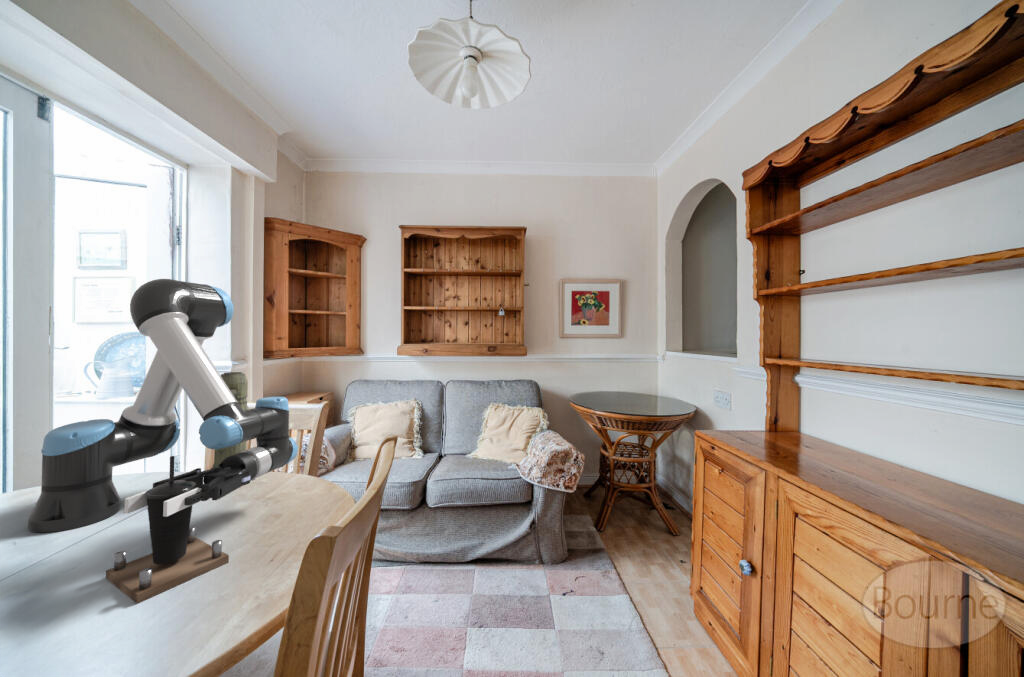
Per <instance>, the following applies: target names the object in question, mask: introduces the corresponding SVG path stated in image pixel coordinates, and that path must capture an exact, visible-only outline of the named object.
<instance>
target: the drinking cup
mask: <svg viewBox="0 0 1024 677" xmlns="http://www.w3.org/2000/svg"><path fill="white" fill-rule="evenodd" d="M175 456H176V455H175ZM175 456H174V455H171V456H169V478H170V479H169V482H166V483H163V484H160V485H158V486H156V487H154V488H153V487H152V488H150V489H148V491H147V490H146V491H147V492H146V493H145V498H147V506H146V507H147V516H148V524H149V526H148V527H149V534H150V543H151V545H150V546H151V553H152V555H153V563H154V564H166V563H170V562H173V561H176V560H178V559H180V558H182V557H183V556H184V555H185V554H186V549H187V542H188V534H189V527H191V526H190V525H191V518H192V512H193V511H192V510H193V505H191V506H189V507H187V508H185V509H182V510H180V511H178V512H176V513H174V514H171V515H169V516H167V517H166V516H163V506H164V501H166V500H169V499H171V498H174V497H176V496H179V495H181V494H183V493H186V492H188V491H191V490H193V489H195V488H196V487H197V484H196V483H195V482H190V481H183V480H178V481H174V477H175Z"/></svg>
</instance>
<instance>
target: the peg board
mask: <svg viewBox="0 0 1024 677" xmlns="http://www.w3.org/2000/svg"><path fill="white" fill-rule="evenodd" d="M127 553H128V552H127V550H120V551H117V552H116V553H114V558H113V559H114V564H113V567H112V568H108V569H106V570H105V579H106V580H107V581H109V582H110V583H111V584H112V585H113V586H115V587H116V588H117V589H118V590H120V591H121V592H122V593H123V594H125V595H126V596H127V597H128V598H130V600H132V602H135V603H136V604H137V605H138V604H140V603H142V602H145V601H146V600H147V601H148V599H150V598H153V597H155V596H158V595H160V594H162V593H163V592H166V591H168V590H170V589H173V588H176V587H177V586H180V585H182V584H184V583H187V582H188V581H191V580H193V579H195V578H197V577H199V576H202V575H204V574H206V573H208V572H210V571H213V570H215V569H217V568H219V567H222V566H223V565H226V564H228V563H229V559H230V555H229V554H228V553H226V552H224V551H223V539H216V540H214V541H212V542H211V545H210V544H208V543H207V542H205V541H203V540H201V539H199V538H198V537H196V526H194V525H193V526H190V527H189V534H188V542H187V549H186V554H185V555H184V556H183V557H182V558H180V559H178V560H176V561H173V562H170V563H166V564H154V563H153V555H152V552H151V553H148V554H147V555H146V554H145V555H143V556H141V557H139V558H135V559H133V560H130V561H127Z"/></svg>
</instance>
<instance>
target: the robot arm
mask: <svg viewBox="0 0 1024 677" xmlns="http://www.w3.org/2000/svg"><path fill="white" fill-rule="evenodd" d="M129 307H130V308H129V311H130V316H131V319H132V322H133V323H134V326H135V327H136V328H137V330H138V332H139V333H140V334H141V335H143V336H144V337H148V338H150V340H151V342H152V343H153V345H154V346H155V348H156V349H157V351H156V353H155V355H154V358H153V360H152V361H151V363H150V364H151V365H150V367H149V369H148V371H147V373H146V375H145V377H144V380H143V383H142V384H141V387H140V389H139V392H138V394H137V396H136V398H135V401H134V403H133V405H130V406H127V407H126V408H124V410H123V411H122V412H121V415H120V416H119V419H118V421H115V422H114V420H112V419H109V418H108V419H107V418H100V419H90V420H86V421H85V420H83V421H82V420H81V421H77V422H73V423H72V422H71V423H68V424H64V425H62V426H58V427H56V428H54V429H52V430H50V431H48V433H46V434H45V436H44V437H43V441H42V442H43V443H42V448H41V449H40V450H41V451H40V452H41V455H42V456H41V458H42V459H41V461H42V462H41V487H40V495H39V498H38V499H37V501H36V503H35V505H34V507H33V509H32V511H31V513H30V515H29V517H28V521H27V529H28V531H29V530H30V531H29V532H32V533H52V532H60V531H65V530H66V531H67V530H71V529H76V528H80V527H84V526H87V525H92V524H94V523H95V524H96V523H97V522H100V521H103V520H105V519H108V518H109V517H112V516H114V515H116V514H117V513H118V512H119V511H120V510H121V509H122V507H121V506H122V505H121V504H122V501H121V500H122V499H121V497H120V495H119V492H118V491H117V488H116V486H115V484H114V482H113V468H114V467H117V466H121V465H125V464H129V463H132V462H135V461H136V462H137V461H140V460H143V459H147V458H151V457H155V456H158V455H160V454H162V453H165V452H167V451H168V450H170V449H172V447H173V446H175V444H176V443H177V442H178V440H179V438H180V434H181V428H179V427H180V422H179V420H178V419H177V417H178V416H177V414H176V413H175V412H174V410H175V406H176V404H177V402H178V400H179V398H180V396H181V393H182V391H184V392H185V394H186V396H187V397H188V398H189V400H190V401H191V403H192V406H194V408H195V410H196V411H197V412H198V414H199V415H200V417H201V418H202V421H203V422H202V423H201V425H200V426H199V429H198V434H199V440H200V442H201V444H202V445H203V446H204V447H206V448H208V449H210V450H215V449H222V448H226V447H232V446H234V445H237V444H239V443H242V442H245V441H246V442H247V441H251V440H254V439H256V440H255V441H256V446H254V447H250V448H248V449H246V450H245V451H242V452H240V453H237V454H234V455H231V456H229V457H227V458H225V459H224V460H223V461H222V462H221V463H220V465H219V466H218V467H213V466H212V467H213V468H212V467H211V468H210V469H206V470H202V468H200V467H197V468H194V469H192V470H190V471H188V472H185V473H181V474H178V475H174V481H178V480H183V481H190V482H195V483H196V484H197V487H196V488H195V489H193V490H191V491H188V492H186V493H183V494H181V495H179V496H176V497H174V498H171V499H169V500H166V501H164V506H163V516H166V517H167V516H169V515H171V514H174V513H176V512H178V511H180V510H182V509H185V508H187V507H189V506H191V505H192V506H193V505H195V504H197V503H200V502H206V501H209V500H210V499H211V501H218V500H220V499H221V498H224V497H225V496H227V495H228V494H230V493H232V492H234V491H236V490H237V489H239V488H241V487H242V486H246V485H249V484H250V483H251V481H256V479H258V478H259V477H261V476H264V475H266V474H268V473H270V472H273V471H275V470H277V469H280V468H282V467H284V466H286V465H287V464H290V463H291V462H293V460H295V458H296V457H297V455H298V452H299V446H298V444H297V442H296V440H295V439H293V438H292V437H290V410H289V400H288V398H287V397H285V396H267V397H261V398H259V399H257V400H256V402H255V406H254V408H250V409H249V408H248V409H249V410H245V411H243V409H242V407H241V406H240V405H239V403H238V402H237V400H236V399H235V397H234V396H233V394H232V393H231V391H230V389H229V388H228V386H227V385H226V383H225V382H224V380H223V379H222V377H221V374H220V373H219V371H218V370H217V368H216V366H215V365H214V364H213V362H212V360H211V358H210V357H209V356H208V354H207V353H206V351H205V349H204V348H203V343H204V342H205V340H208V339H210V338H213V337H214V336H215V335H214V334H215V332H216V329H217V328H220V327H224V326H225V325H228V324H229V323H230V321H231V320H232V318H233V315H234V311H235V310H234V303H233V302H232V297H231V296H230V295H229V294H228V293H227V292H226V291H225V290H224V289H221V288H219V287H217V286H212V285H210V284H202V283H196V282H189V281H182V280H176V279H173V278H159V279H153V280H150V281H147V282H145V283H144V284H141V285H140V286H139V287H138V288H137V289H136V290H135V291H134V293H133V295H132V297H131V300H130V304H129ZM169 479H170V477H169V478H165V479H162V480H159V481H156V482H153V483H152V488H154V487H156V486H158V485H160V484H163V483H166V482H169ZM148 490H149V489H148ZM148 490H145V491H142V492H139V493H137V494H133V495H132V496H131V495H130V496H128V497H126V498H124V512H123V514H130V513H132V512H135V511H137V510H140V509H143V508H145V507H148V506H147V498H145V493H146V492H147V491H148Z"/></svg>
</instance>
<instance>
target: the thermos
mask: <svg viewBox="0 0 1024 677" xmlns="http://www.w3.org/2000/svg"><path fill="white" fill-rule="evenodd" d="M220 376H221V377H222V379H223V380H224V382H225V383H226V385H227V386H228V388H229V389H230V391H231V393H232V394H233V396H234V397H235V399H236V400H237V402H238V403H239V405H240V406H241V407H242V409H243V411H245V410H249V407H248V401H247V398H248V388H249V387H248V384H249V382H248V378H247V376H246V374H245V373H243V372H239V371H233V372H229V371H228V372H223V373H222V374H220ZM245 450H247V441H245V442H242V443H239V444H237V445H234V446H232V447H226V448H222V449H214V454H213V455H214V458H213V459H214V460H213V461H214V462H213V464H212V467H211V468H213V467H218V466H219V465H220V463H221V462H222V461H223V460H224V459H225V458H227V457H229V456H231V455H234V454H237V453H240V452H242V451H245Z"/></svg>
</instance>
